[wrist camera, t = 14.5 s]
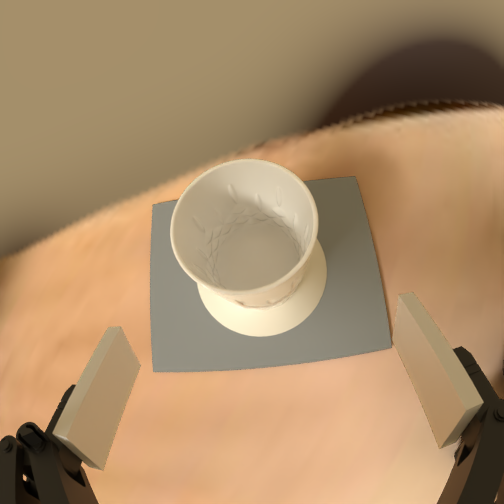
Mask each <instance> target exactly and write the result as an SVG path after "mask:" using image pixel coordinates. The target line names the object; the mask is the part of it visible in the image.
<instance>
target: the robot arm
mask: <svg viewBox="0 0 504 504" xmlns="http://www.w3.org/2000/svg"><path fill="white" fill-rule="evenodd" d="M392 341H393V343H394V345H395V347H396V349H397V351H398V353H399V355H400V358H401V360H402V362H403V364H404V366H405V368H406V370H407V373H408V375H409V377H410V379H411V381H412V384H413V386H414V388H415V390H416V393H417V395H418V397H419V400H420V402H421V404H422V407H423V409H424V411H425V414H426V416H427V419H428V421H429V424H430V426H431V429H432V431H433V434H434V436H435V439H436V442H437V444H438V447H439V449H441V448H443V447H446V446H448V445H450V444H453V443H455V442H456V441H457V440H458V438H459V437H460V436H462V438H463V440H464V441H463V442H462V444H461V445H460V446H459V447H458V449H457V450H456V452H455V453H454V454H457V453H458V452H459V453H458V456H457V459H456V461H455V464H454V466H453V469H452V471H451V474H450V476H449V479H448V481H447V483H446V485H445V488H444V490H443V492H442V494H441V496H440V498H439V500H438V502H437V504H494V501H495V498H496V495H497V501H496V504H504V399H499V397H498V396H497V395H496V393H495V391H494V390H493V388H492V386H491V384H490V383H489V381H488V380H487V378H486V376H485V375H484V373H483V371H481V368H480V367H479V365H478V364H477V362H476V361H475V359H474V357H473V356H472V354H471V353H470V352H468V351H467V350H466V349H464V348H463V347H462V346H461V347H458V348H455V349H452V348H451V346H450V345H449V343H448V342H447V340H446V339H445V337H444V336H443V334H442V333H441V331H440V330H439V328H438V327H437V325H436V324H435V322H434V321H433V319H432V318H431V316H430V315H429V314H428V312H427V311H426V309H425V308H424V306H423V305H422V304H421V302H420V301H419V299H418V298H417V297H416V295H415V294H414V293H413V292H411V293H406V294H401V295H399V297H398V304H397V311H396V317H395V324H394V330H393V335H392ZM140 367H141V365H140V363H139V361H138V359H137V357H136V355H135V353H134V352H133V350H132V348H131V346H130V344H129V342H128V340H127V338H126V336H125V334H124V332H123V330H122V328H121V327H108V329H107V330H106V332H105V334H104V336H103V337H102V339H101V341H100V342H99V344H98V346H97V348H96V349H95V351H94V353H93V355H92V357H91V358H90V360H89V362H88V364H87V366H86V367H85V369H84V371H83V373H82V375H81V377H80V379H79V380H78V382H77V384H76V385H72V386H71V387H70V388H69V389H68V390H67V391H66V392H65V393H64V395H63V397H62V399H61V402H60V403H59V405H58V409H56V411H55V413H54V415H53V417H52V419H51V421H50V423H49V425H48V427H47V429H46V431H45V433H44V432H43V431H42V430H41V429H40V428H39V427H38V426H37V425H36V424H35V423H33V422H27V423H25V424H23V425H22V426H21V427H20V428H19V429H18V431H17V433H16V438H14V437H13V436H10V435H8V436H5V437H4V438H3V439H2V440H1V441H0V504H98V501H97V499H96V497H95V495H94V493H93V490H92V488H91V486H90V483H89V481H88V479H87V476H86V474H85V471H84V469H83V468H82V466H81V463H82V461H83V462H84V463H85V464H87V465H88V466H89V467H91V468H95V469H99V470H103V471H104V467H105V464H106V461H107V458H108V455H109V452H110V449H111V446H112V443H113V440H114V437H115V434H116V431H117V428H118V426H119V423H120V420H121V417H122V414H123V412H124V409H125V406H126V403H127V401H128V398H129V395H130V393H131V390H132V387H133V385H134V382H135V379H136V377H137V374H138V372H139V369H140ZM23 474H24V475H25V476H26V477H27V480H26V481H24V480H23ZM497 492H498V494H497Z"/></svg>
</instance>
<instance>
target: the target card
mask: <svg viewBox="0 0 504 504" xmlns="http://www.w3.org/2000/svg"><path fill="white" fill-rule="evenodd" d="M303 182H304V184H305V185H306V186H307V188H308V189H309V191H310V192H311V194H312V196H313V198H314V201H315V204H316V207H317V212H318V233H317V238H316V242H315V245H314V248H313V250H312V253H311V256H310V259H309V262H308V265H307V268H306V271H305V273H304V275H303V277H302V280H301V282H300V284H299V285H298V287H297V289H296V292H295V293H294V294H293V295H292V296H291V297H290V298H289V299H288V300H287V301H286V302H285V303H284V304H283V305H281V306H278V307H275V308H272V309H269V310H266V311H258V310H249V309H244V308H243V307H241V306H237V305H235V304H233V303H231V302H229V301H227V300H225V299H223V298H222V297H220V296H218V295H217V294H215V293H213V292H212V291H210V290H208V289H207V288H205V287H203V286H201V285H200V284H198V283H197V282H195V281H194V280H193V279H192V278H191V277H190V276H188V274H187V273H186V272H185V271H184V270H183V269H182V267H181V266H180V264H179V263H178V261H177V259H176V257H175V254H174V252H173V248H172V244H171V238H170V226H171V219H172V215H173V211H174V208H175V206H176V204H177V202H178V200H175V201H169V202H164V203H159V204H154V205H153V210H152V228H151V255H150V318H151V344H152V362H153V372H203V371H225V370H241V369H254V368H265V367H276V366H285V365H293V364H301V363H309V362H316V361H323V360H329V359H336V358H342V357H348V356H353V355H359V354H364V353H369V352H374V351H379V350H384V349H388V348H392V346H391V338H390V330H389V323H388V317H387V310H386V304H385V299H384V293H383V287H382V282H381V277H380V272H379V267H378V262H377V258H376V253H375V249H374V244H373V240H372V236H371V232H370V227H369V223H368V220H367V216H366V212H365V208H364V204H363V201H362V197H361V194H360V190H359V187H358V183H357V180H356V177H355V176H351V177H340V178H330V179H320V180H311V181H303Z"/></svg>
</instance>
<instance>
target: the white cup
mask: <svg viewBox="0 0 504 504" xmlns="http://www.w3.org/2000/svg"><path fill="white" fill-rule="evenodd" d="M317 233H318V212H317V207H316V204H315V201H314V198H313V196H312V194H311V192H310V191H309V189H308V188H307V186H306V185H305V184H304V182H303V181H302V180H301V179H300V178H299V177H298V176H297V175H295V174H294V173H293V172H291V171H290V170H288V169H287V168H285V167H283V166H281V165H279V164H276V163H274V162H270V161H266V160H261V159H237V160H232V161H228V162H224V163H221V164H219V165H216V166H214V167H212V168H210V169H208V170H207V171H205V172H204V173H202V174H201V175H199V176H198V177H197V178H196V179H195V180H193V181H192V182H191V183H190V184H189V186H188V187H187V188H186V189H185V190H184V192H183V193H182V195H181V196H180V198H179V200H178V202H177V204H176V206H175V208H174V211H173V215H172V219H171V226H170V238H171V244H172V248H173V252H174V254H175V257H176V259H177V261H178V263H179V264H180V266H181V267H182V269H183V270H184V271H185V272H186V273H187V274H188V276H190V277H191V278H192V279H193V280H194V281H195V282H197V283H198V284H200V285H201V286H203V287H205V288H207V289H208V290H210V291H212V292H213V293H215V294H217V295H218V296H220V297H222V298H223V299H225V300H227V301H229V302H231V303H233V304H235V305H237V306H241V307H243V308H244V309H249V310H258V311H266V310H269V309H272V308H275V307H278V306H281V305H283V304H284V303H285V302H286V301H287V300H288V299H289V298H290V297H291V296H292V295H293V294H294V293H295V292H296V289H297V287H298V285H299V284H300V282H301V280H302V277H303V275H304V273H305V271H306V268H307V265H308V262H309V259H310V256H311V253H312V250H313V248H314V245H315V242H316V238H317Z"/></svg>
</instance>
